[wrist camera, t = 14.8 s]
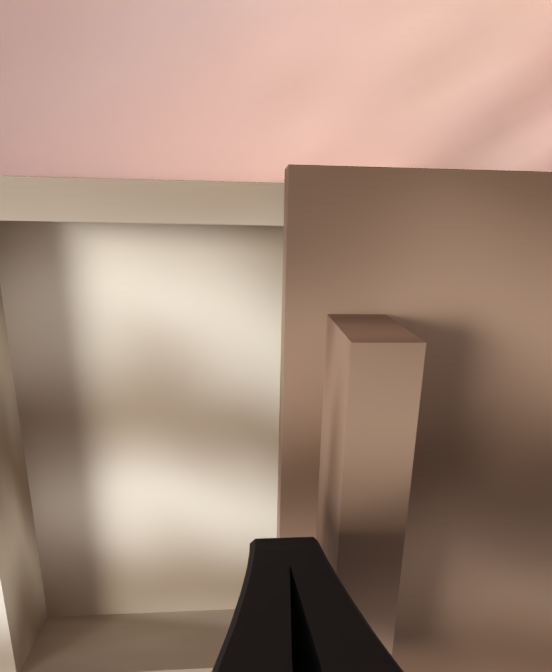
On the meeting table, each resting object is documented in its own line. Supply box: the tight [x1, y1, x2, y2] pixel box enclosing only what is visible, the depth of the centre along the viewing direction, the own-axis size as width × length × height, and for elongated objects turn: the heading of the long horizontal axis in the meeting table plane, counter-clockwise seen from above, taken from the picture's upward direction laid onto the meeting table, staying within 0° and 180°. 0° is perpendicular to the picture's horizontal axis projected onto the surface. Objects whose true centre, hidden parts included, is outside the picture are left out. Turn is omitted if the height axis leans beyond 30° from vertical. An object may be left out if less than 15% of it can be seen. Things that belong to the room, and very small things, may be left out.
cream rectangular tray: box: [0, 176, 285, 672], centre depth 14 cm, size 16×21×3 cm
